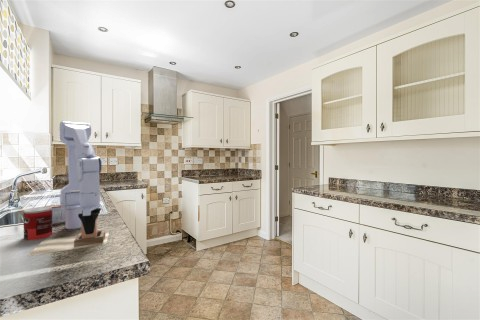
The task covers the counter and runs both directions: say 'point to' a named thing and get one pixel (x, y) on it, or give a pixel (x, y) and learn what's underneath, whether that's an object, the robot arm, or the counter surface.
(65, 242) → the board
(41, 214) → the canned food
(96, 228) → the block
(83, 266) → the counter surface
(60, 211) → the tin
